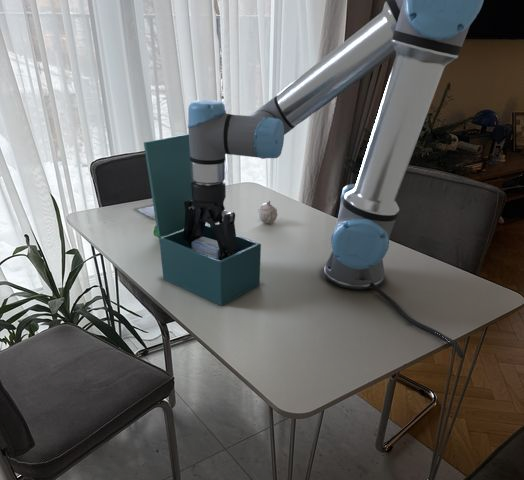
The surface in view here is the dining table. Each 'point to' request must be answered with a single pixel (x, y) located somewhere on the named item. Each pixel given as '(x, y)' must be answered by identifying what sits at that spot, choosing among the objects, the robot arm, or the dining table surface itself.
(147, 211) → the architectural model
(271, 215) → the garlic bulb
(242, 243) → the box
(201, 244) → the medicine box
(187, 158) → the lunchbox lid
